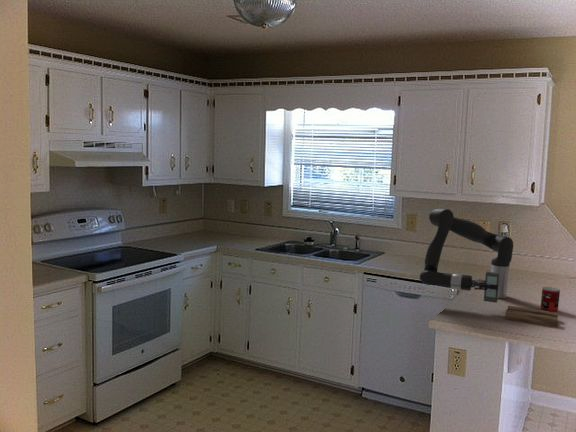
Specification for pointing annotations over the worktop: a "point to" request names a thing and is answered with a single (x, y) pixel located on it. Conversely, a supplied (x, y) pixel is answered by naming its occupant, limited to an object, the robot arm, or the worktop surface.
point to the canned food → (550, 299)
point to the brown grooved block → (531, 316)
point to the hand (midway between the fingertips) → (497, 286)
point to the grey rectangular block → (491, 294)
